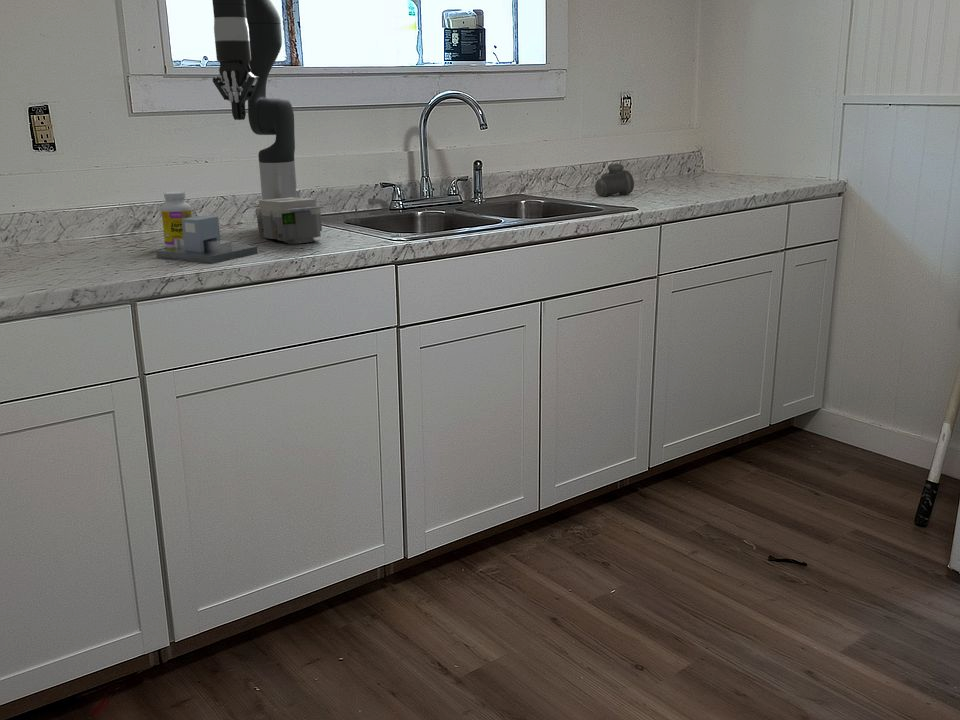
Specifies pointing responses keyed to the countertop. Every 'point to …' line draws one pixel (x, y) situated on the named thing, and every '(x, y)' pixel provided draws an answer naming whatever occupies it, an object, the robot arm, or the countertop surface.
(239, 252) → the grey flat block
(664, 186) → the countertop surface
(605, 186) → the pipe fitting
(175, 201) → the supplement bottle
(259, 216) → the electrical outlet
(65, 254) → the countertop surface
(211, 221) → the block
